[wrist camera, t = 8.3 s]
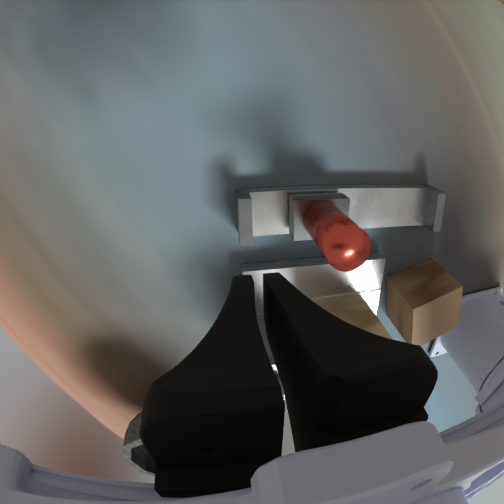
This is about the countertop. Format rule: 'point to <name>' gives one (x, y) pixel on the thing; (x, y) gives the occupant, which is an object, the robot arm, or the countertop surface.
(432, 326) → the block
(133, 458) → the mortar and pestle
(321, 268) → the press
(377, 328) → the block
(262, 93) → the countertop surface
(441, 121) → the countertop surface
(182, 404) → the robot arm
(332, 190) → the rail
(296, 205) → the lever
